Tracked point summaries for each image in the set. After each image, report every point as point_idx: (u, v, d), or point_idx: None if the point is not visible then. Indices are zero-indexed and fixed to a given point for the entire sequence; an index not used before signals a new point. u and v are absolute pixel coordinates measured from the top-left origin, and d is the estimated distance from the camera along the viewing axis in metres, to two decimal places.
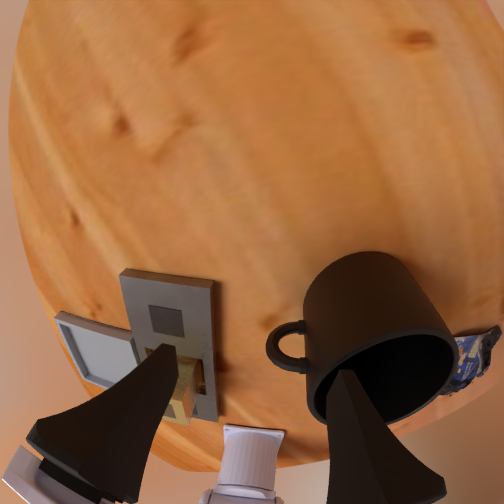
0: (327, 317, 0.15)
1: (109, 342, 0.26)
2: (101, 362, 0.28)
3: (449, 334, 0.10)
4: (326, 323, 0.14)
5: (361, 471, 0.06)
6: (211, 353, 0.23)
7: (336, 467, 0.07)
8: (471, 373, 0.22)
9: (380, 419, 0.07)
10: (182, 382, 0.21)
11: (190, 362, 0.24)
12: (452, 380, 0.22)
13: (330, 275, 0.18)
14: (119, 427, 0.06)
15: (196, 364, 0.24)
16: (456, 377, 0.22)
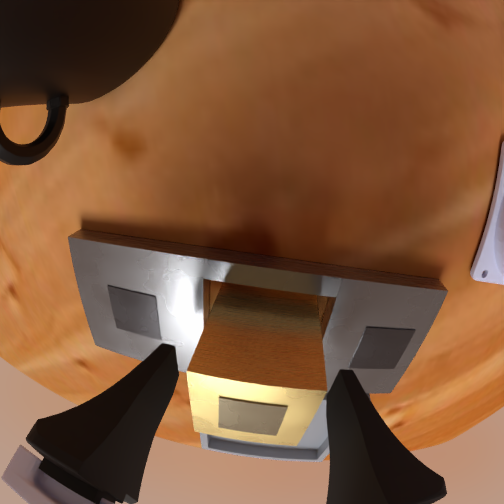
0: None
1: None
2: None
3: None
4: None
5: (361, 471, 0.06)
6: (181, 257, 0.12)
7: (336, 467, 0.07)
8: None
9: (380, 419, 0.07)
10: None
11: None
12: None
13: None
14: (119, 427, 0.06)
15: (224, 294, 0.12)
16: None
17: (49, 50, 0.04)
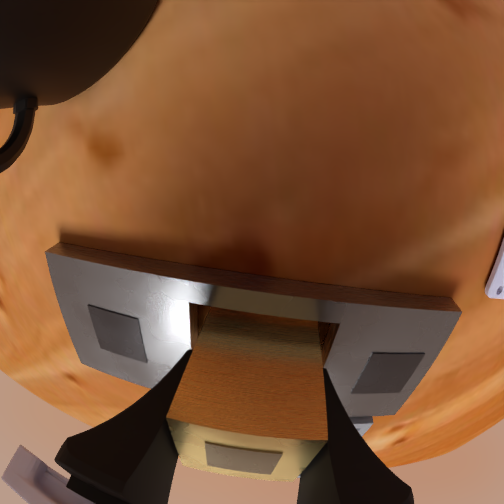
0: None
1: None
2: None
3: None
4: None
5: (324, 473, 0.06)
6: (162, 278, 0.10)
7: (306, 467, 0.07)
8: None
9: (348, 420, 0.07)
10: None
11: None
12: None
13: None
14: (156, 440, 0.06)
15: (213, 320, 0.11)
16: None
17: (2, 47, 0.03)
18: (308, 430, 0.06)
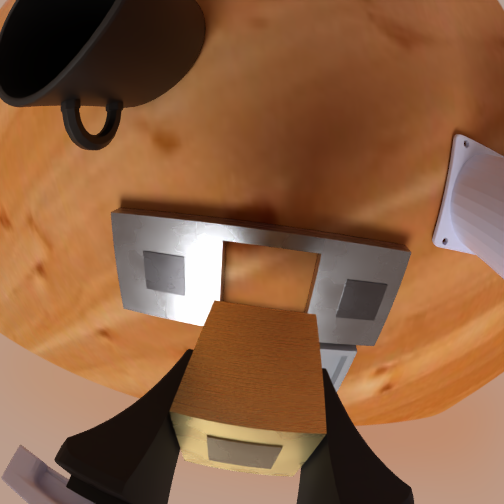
0: None
1: None
2: None
3: (13, 7, 0.04)
4: None
5: (323, 473, 0.06)
6: (206, 224, 0.16)
7: (305, 467, 0.07)
8: None
9: (348, 420, 0.07)
10: None
11: None
12: None
13: None
14: (156, 440, 0.06)
15: (214, 317, 0.11)
16: None
17: (125, 70, 0.09)
18: (307, 424, 0.07)
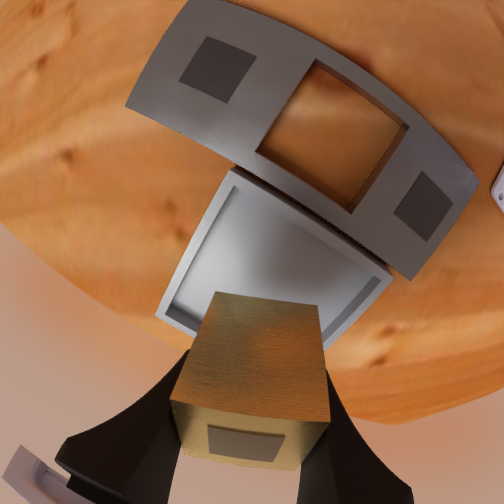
0: None
1: (235, 244, 0.16)
2: None
3: None
4: None
5: (323, 473, 0.06)
6: (305, 36, 0.10)
7: (305, 467, 0.07)
8: None
9: (348, 420, 0.07)
10: None
11: None
12: None
13: None
14: (156, 440, 0.06)
15: (216, 307, 0.11)
16: None
17: None
18: (311, 412, 0.07)
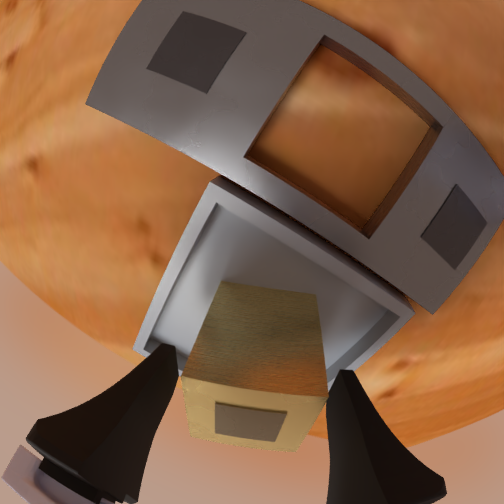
0: None
1: (222, 273, 0.13)
2: None
3: None
4: None
5: (361, 471, 0.06)
6: (310, 7, 0.07)
7: (336, 467, 0.07)
8: None
9: (380, 419, 0.07)
10: None
11: None
12: None
13: None
14: (119, 427, 0.06)
15: (221, 295, 0.12)
16: None
17: None
18: (310, 387, 0.08)
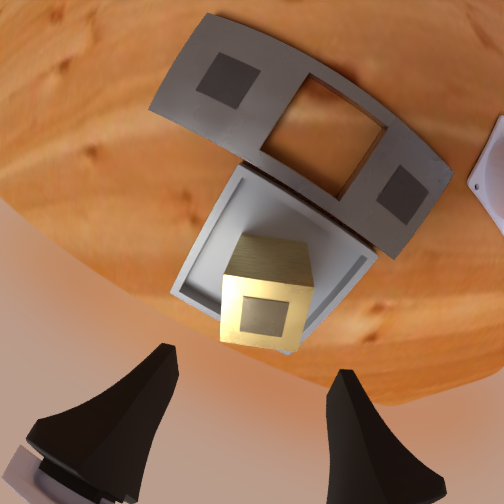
0: None
1: (242, 227, 0.19)
2: None
3: None
4: None
5: (361, 471, 0.06)
6: (301, 53, 0.13)
7: (336, 467, 0.07)
8: None
9: (380, 419, 0.07)
10: None
11: None
12: None
13: None
14: (119, 427, 0.06)
15: (243, 240, 0.18)
16: None
17: None
18: (303, 282, 0.14)
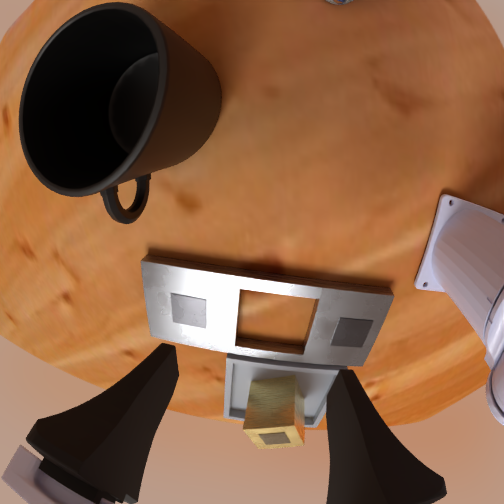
0: None
1: (250, 378, 0.25)
2: None
3: (29, 73, 0.08)
4: None
5: (361, 471, 0.06)
6: (226, 276, 0.20)
7: (336, 467, 0.07)
8: None
9: (380, 419, 0.07)
10: None
11: None
12: None
13: None
14: (119, 427, 0.06)
15: (252, 389, 0.24)
16: None
17: (158, 163, 0.12)
18: (287, 423, 0.19)
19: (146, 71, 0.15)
